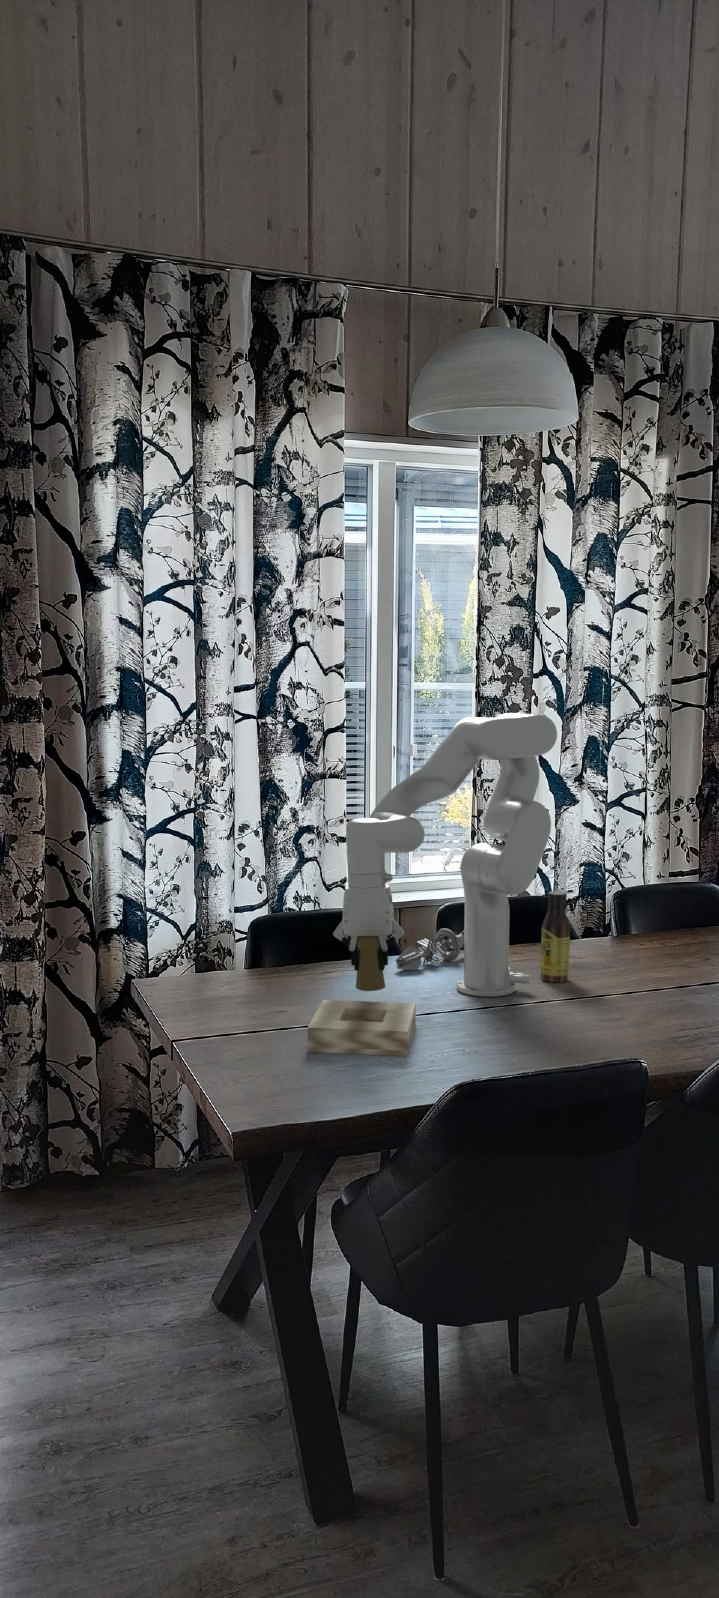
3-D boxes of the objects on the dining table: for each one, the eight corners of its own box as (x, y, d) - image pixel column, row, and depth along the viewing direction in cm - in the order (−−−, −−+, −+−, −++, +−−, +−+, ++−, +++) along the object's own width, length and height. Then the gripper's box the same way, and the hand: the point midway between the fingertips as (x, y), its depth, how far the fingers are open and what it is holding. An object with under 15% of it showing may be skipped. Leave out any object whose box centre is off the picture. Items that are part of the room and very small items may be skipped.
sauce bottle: (537, 976, 261) (538, 889, 259) (564, 976, 262) (566, 889, 260) (544, 984, 255) (546, 894, 252) (572, 983, 255) (574, 894, 253)
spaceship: (511, 920, 283) (487, 904, 288) (412, 959, 259) (388, 941, 264) (503, 947, 286) (479, 931, 291) (404, 988, 263) (381, 969, 268)
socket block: (415, 1026, 224) (415, 1003, 224) (407, 1056, 206) (407, 1031, 206) (323, 1022, 226) (323, 999, 226) (307, 1052, 209) (307, 1027, 208)
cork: (386, 982, 238) (384, 929, 237) (384, 991, 232) (382, 937, 231) (357, 982, 239) (355, 930, 237) (354, 991, 233) (352, 937, 231)
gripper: (410, 876, 235) (413, 963, 238) (327, 876, 237) (331, 963, 240) (407, 883, 228) (410, 974, 230) (322, 884, 230) (325, 974, 232)
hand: (369, 967), depth 235 cm, fingers closed on cork, 4 cm apart
